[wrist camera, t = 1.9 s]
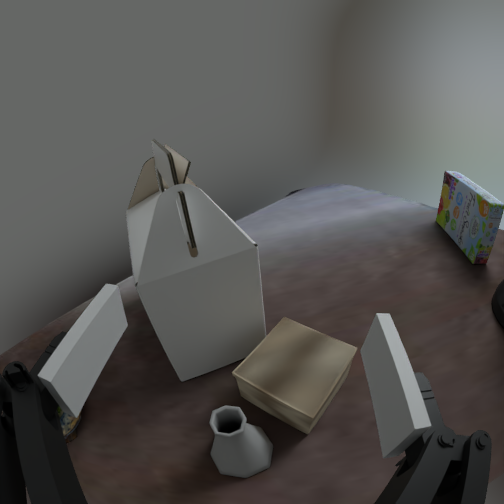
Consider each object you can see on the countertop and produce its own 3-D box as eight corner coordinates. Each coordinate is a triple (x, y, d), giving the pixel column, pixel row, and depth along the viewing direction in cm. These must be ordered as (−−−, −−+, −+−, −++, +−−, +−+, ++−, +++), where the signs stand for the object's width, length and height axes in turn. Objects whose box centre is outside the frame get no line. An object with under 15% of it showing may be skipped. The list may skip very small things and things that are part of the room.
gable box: (268, 350, 39) (249, 144, 24) (182, 384, 35) (98, 182, 20) (216, 271, 56) (190, 127, 41) (153, 292, 52) (109, 148, 37)
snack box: (488, 264, 47) (506, 204, 39) (472, 265, 48) (490, 203, 40) (449, 220, 65) (458, 170, 57) (434, 220, 66) (443, 169, 57)
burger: (90, 443, 26) (58, 419, 22) (31, 448, 22) (-2, 424, 18) (87, 377, 35) (63, 347, 31) (34, 388, 32) (8, 360, 28)
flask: (213, 481, 23) (188, 461, 17) (208, 429, 29) (185, 391, 23) (279, 472, 23) (278, 450, 18) (267, 420, 29) (262, 380, 24)
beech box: (349, 374, 33) (357, 348, 30) (308, 436, 27) (313, 418, 23) (284, 345, 39) (284, 316, 36) (238, 396, 33) (231, 372, 29)
